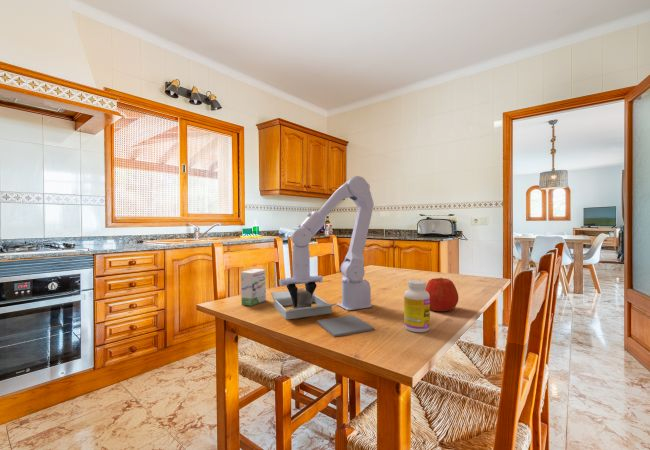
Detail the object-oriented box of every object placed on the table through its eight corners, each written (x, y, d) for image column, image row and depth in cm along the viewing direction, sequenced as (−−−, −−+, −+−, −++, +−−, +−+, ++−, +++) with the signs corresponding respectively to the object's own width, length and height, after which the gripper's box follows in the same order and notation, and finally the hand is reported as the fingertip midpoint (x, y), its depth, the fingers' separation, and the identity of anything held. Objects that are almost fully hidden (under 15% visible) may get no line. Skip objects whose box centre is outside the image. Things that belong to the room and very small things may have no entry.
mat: (353, 317, 93) (353, 315, 93) (374, 329, 82) (374, 327, 82) (316, 322, 88) (316, 320, 88) (334, 337, 77) (334, 334, 77)
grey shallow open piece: (311, 299, 115) (311, 288, 115) (336, 316, 94) (336, 303, 94) (271, 303, 109) (271, 292, 109) (289, 323, 88) (289, 309, 88)
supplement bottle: (426, 335, 78) (426, 285, 78) (401, 330, 81) (400, 282, 81) (432, 327, 84) (432, 280, 83) (408, 323, 87) (408, 278, 87)
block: (303, 305, 106) (303, 288, 106) (311, 312, 98) (311, 293, 98) (292, 307, 104) (292, 289, 104) (299, 313, 97) (299, 295, 97)
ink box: (251, 306, 106) (251, 272, 106) (240, 304, 108) (240, 271, 108) (266, 300, 114) (266, 269, 113) (256, 299, 116) (255, 268, 116)
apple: (453, 316, 92) (453, 281, 92) (418, 310, 99) (418, 278, 99) (462, 308, 101) (461, 276, 101) (429, 303, 107) (429, 273, 107)
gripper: (283, 268, 94) (283, 311, 95) (325, 264, 100) (326, 305, 100) (277, 265, 101) (278, 305, 101) (318, 262, 107) (318, 300, 107)
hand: (301, 305), depth 101 cm, fingers closed on block, 4 cm apart
